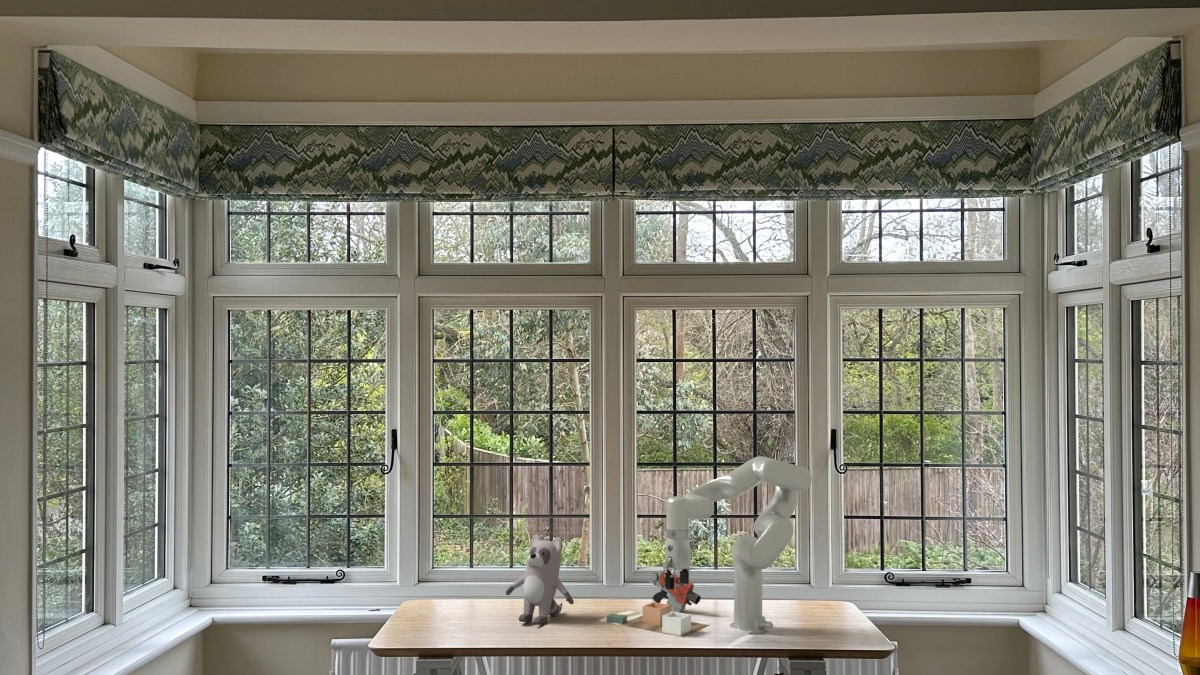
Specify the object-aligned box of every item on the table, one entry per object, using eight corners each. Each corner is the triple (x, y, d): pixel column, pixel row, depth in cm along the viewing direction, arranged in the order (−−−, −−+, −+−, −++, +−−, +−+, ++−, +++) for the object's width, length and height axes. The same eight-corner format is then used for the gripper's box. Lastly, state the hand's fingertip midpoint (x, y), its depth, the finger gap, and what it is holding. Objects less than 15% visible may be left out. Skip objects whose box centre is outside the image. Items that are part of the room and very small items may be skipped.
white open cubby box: (691, 631, 316) (691, 614, 316) (680, 636, 310) (680, 619, 310) (672, 627, 320) (672, 611, 320) (662, 632, 314) (662, 615, 314)
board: (709, 628, 324) (709, 625, 324) (683, 641, 309) (683, 637, 309) (625, 613, 343) (625, 609, 343) (597, 624, 328) (597, 620, 328)
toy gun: (686, 627, 336) (698, 589, 334) (642, 600, 348) (653, 563, 346) (692, 625, 339) (704, 587, 337) (648, 598, 351) (659, 561, 349)
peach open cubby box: (670, 621, 328) (670, 605, 329) (659, 625, 323) (660, 609, 323) (652, 617, 332) (652, 602, 333) (642, 622, 327) (642, 606, 327)
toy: (514, 632, 317) (514, 545, 317) (504, 615, 338) (504, 534, 338) (574, 627, 323) (574, 542, 323) (560, 611, 343) (560, 530, 343)
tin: (627, 621, 328) (627, 615, 328) (622, 623, 324) (622, 618, 324) (611, 619, 330) (611, 613, 330) (606, 621, 326) (606, 616, 327)
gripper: (674, 539, 307) (673, 592, 306) (699, 532, 321) (699, 583, 321) (654, 536, 311) (654, 589, 310) (680, 529, 325) (679, 580, 325)
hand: (677, 586), depth 315 cm, fingers open, 9 cm apart
